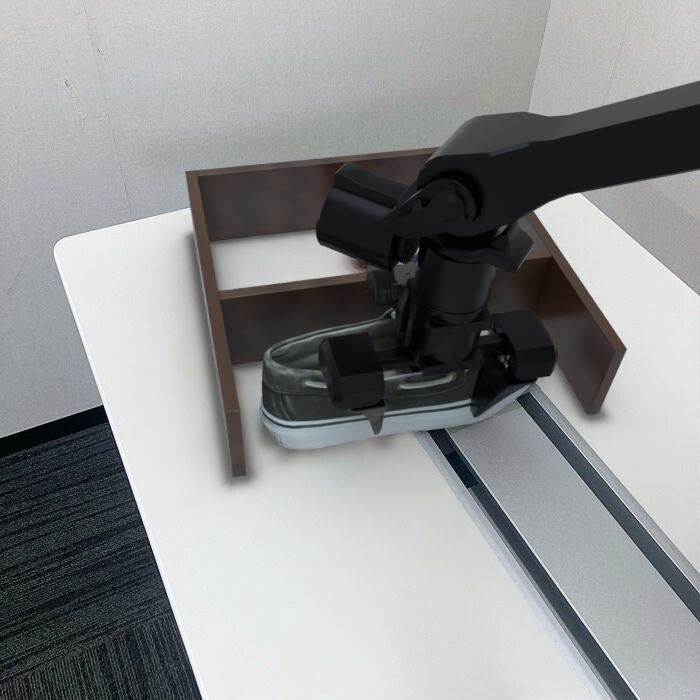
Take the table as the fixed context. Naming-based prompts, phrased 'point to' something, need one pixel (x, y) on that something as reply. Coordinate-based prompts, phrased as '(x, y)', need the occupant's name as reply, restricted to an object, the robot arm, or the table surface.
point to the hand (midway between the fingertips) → (425, 421)
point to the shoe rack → (364, 278)
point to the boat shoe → (342, 425)
